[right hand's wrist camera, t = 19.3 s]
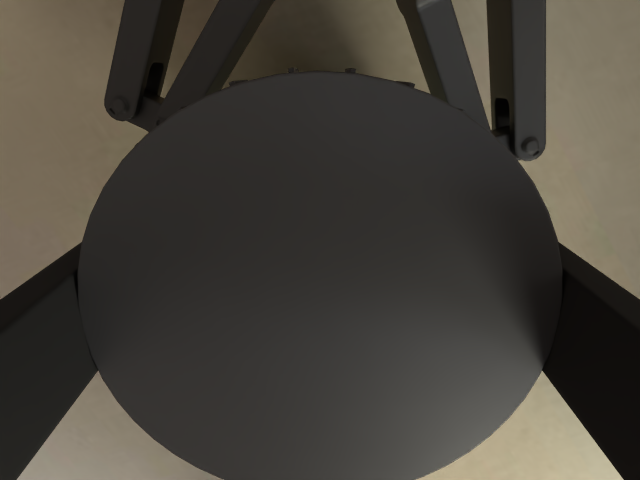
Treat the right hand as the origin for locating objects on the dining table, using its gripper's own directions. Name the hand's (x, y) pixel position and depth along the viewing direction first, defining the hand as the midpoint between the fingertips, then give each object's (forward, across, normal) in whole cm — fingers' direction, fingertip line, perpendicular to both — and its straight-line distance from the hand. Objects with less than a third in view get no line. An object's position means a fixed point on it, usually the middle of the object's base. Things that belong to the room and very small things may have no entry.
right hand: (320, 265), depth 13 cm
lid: (-3, 0, 0) cm, 3 cm away
